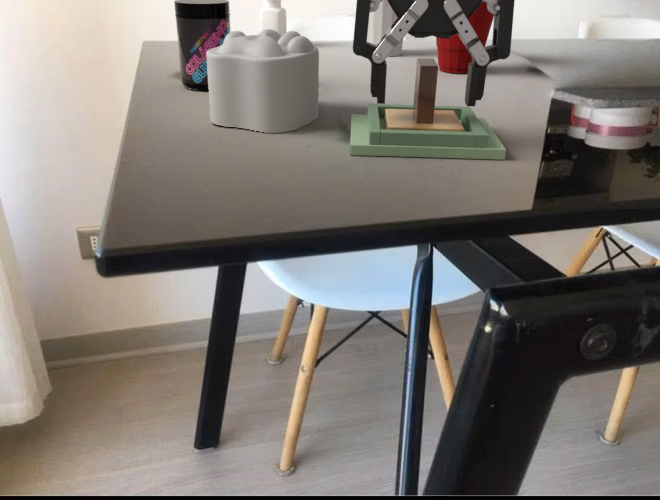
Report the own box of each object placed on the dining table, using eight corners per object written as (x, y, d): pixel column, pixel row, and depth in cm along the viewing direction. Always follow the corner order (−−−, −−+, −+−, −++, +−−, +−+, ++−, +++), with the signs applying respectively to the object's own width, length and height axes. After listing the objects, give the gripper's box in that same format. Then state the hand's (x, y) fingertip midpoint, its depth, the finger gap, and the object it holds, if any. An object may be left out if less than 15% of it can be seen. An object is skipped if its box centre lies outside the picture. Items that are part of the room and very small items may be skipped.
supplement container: (174, 90, 80) (166, 2, 75) (190, 80, 86) (183, -2, 81) (226, 93, 79) (221, 4, 74) (238, 82, 85) (235, -1, 81)
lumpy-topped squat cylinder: (197, 123, 66) (191, 37, 62) (256, 98, 77) (253, 23, 73) (287, 135, 62) (286, 45, 59) (335, 107, 73) (337, 29, 69)
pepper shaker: (268, 43, 117) (266, -13, 113) (287, 44, 116) (287, -12, 111) (258, 46, 113) (256, -11, 109) (279, 47, 112) (277, -10, 108)
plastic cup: (510, 73, 94) (523, -14, 89) (455, 79, 89) (464, -12, 84) (462, 61, 102) (470, -19, 97) (408, 67, 97) (414, -18, 92)
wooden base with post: (452, 121, 65) (459, 56, 62) (463, 141, 58) (471, 69, 55) (384, 120, 65) (388, 54, 62) (387, 139, 58) (391, 67, 56)
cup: (394, 48, 113) (398, -24, 108) (414, 56, 106) (420, -21, 101) (353, 50, 111) (355, -24, 105) (371, 58, 104) (375, -21, 99)
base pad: (483, 127, 67) (486, 106, 66) (504, 160, 57) (508, 136, 56) (351, 123, 67) (352, 102, 66) (349, 155, 57) (350, 131, 56)
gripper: (356, -92, 50) (350, 111, 57) (537, -89, 50) (508, 115, 57) (357, -89, 57) (351, 93, 64) (516, -86, 56) (492, 96, 63)
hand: (425, 103), depth 60 cm, fingers open, 8 cm apart
